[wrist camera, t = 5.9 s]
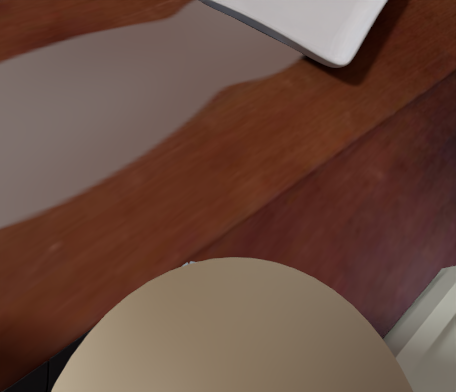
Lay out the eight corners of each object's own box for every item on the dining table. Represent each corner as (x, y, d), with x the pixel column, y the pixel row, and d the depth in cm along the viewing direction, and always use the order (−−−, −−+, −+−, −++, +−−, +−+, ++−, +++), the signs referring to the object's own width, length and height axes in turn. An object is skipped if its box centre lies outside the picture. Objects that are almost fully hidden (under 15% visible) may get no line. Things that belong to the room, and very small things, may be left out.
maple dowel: (200, 413, 14) (199, 1115, 2) (149, 336, 15) (-66, 441, 3) (265, 348, 15) (518, 490, 3) (215, 282, 16) (258, 197, 4)
